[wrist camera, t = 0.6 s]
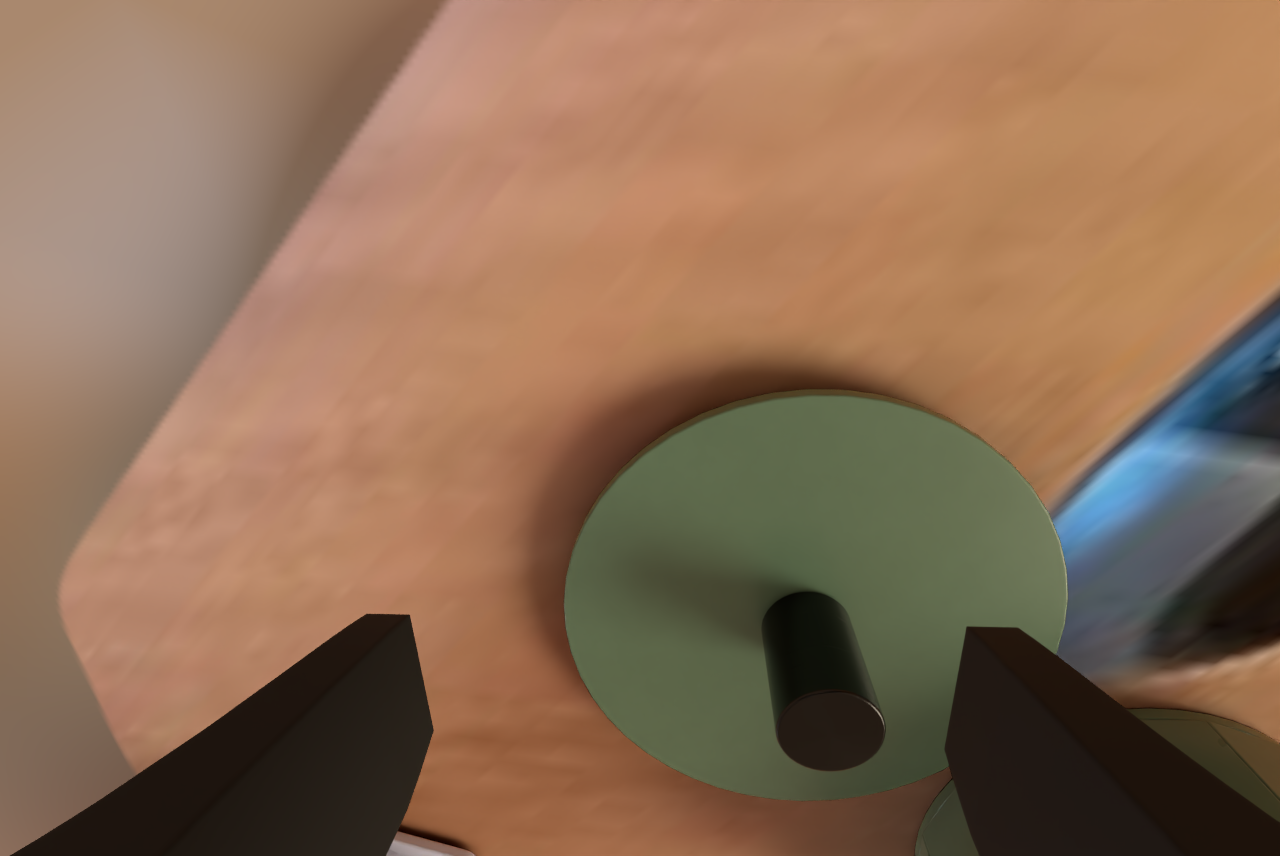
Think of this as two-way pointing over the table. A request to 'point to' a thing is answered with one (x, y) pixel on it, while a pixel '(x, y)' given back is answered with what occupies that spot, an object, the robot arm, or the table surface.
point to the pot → (1217, 744)
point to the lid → (804, 590)
